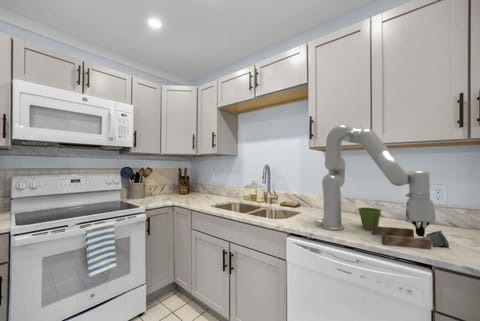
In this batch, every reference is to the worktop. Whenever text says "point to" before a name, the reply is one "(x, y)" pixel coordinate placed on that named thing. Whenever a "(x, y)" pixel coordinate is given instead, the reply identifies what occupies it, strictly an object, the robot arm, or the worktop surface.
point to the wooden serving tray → (400, 237)
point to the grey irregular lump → (437, 239)
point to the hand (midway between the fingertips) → (420, 235)
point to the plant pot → (369, 217)
